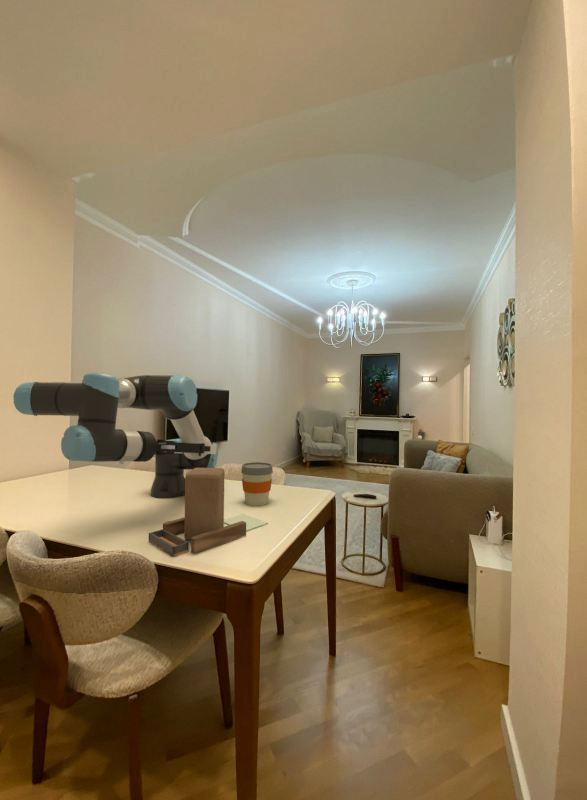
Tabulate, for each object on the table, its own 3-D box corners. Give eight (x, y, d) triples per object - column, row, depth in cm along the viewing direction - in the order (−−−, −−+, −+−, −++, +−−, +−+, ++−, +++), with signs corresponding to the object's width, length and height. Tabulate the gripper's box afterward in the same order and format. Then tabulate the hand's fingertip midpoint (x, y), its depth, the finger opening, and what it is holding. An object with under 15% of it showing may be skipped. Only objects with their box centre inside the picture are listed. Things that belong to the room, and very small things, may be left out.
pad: (220, 521, 120) (220, 520, 120) (242, 514, 128) (242, 513, 128) (245, 532, 112) (245, 530, 112) (267, 523, 119) (267, 522, 119)
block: (217, 543, 103) (218, 474, 103) (183, 542, 103) (184, 474, 103) (224, 530, 113) (225, 467, 113) (192, 529, 113) (193, 467, 113)
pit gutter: (148, 541, 103) (148, 533, 103) (163, 537, 107) (163, 528, 107) (173, 556, 94) (173, 547, 94) (188, 551, 97) (188, 542, 97)
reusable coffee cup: (261, 496, 152) (262, 461, 152) (278, 503, 142) (278, 466, 141) (235, 500, 144) (235, 464, 144) (250, 509, 134) (251, 469, 134)
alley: (162, 536, 107) (162, 523, 107) (212, 521, 121) (212, 509, 121) (194, 554, 96) (195, 539, 96) (246, 535, 109) (246, 522, 109)
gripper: (102, 460, 93) (168, 460, 111) (167, 463, 80) (229, 463, 98) (105, 431, 94) (170, 436, 112) (169, 430, 81) (231, 436, 99)
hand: (198, 449), depth 105 cm, fingers open, 13 cm apart
